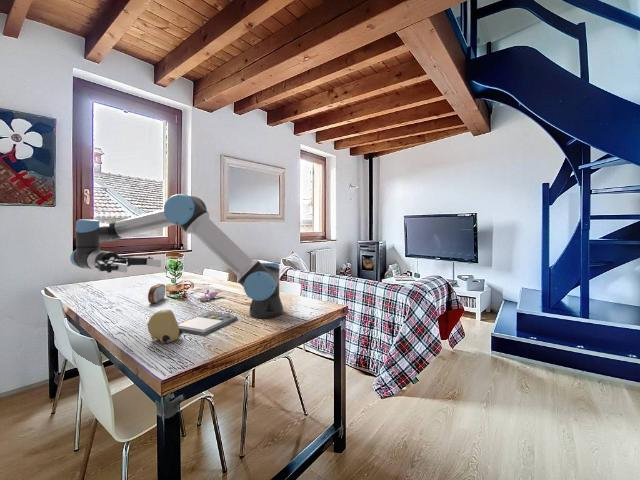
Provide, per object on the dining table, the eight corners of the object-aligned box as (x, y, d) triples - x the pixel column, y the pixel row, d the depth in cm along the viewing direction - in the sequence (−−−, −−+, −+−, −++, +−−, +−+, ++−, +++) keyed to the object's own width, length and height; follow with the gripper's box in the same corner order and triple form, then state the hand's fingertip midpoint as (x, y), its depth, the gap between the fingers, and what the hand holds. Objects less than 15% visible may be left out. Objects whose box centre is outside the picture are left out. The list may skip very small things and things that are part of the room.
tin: (160, 297, 167) (160, 282, 167) (167, 297, 167) (166, 282, 167) (147, 305, 152) (146, 288, 152) (154, 305, 152) (153, 288, 152)
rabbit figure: (204, 305, 157) (225, 294, 170) (202, 294, 156) (224, 284, 169) (195, 304, 160) (217, 293, 173) (193, 293, 159) (215, 283, 172)
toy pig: (153, 354, 106) (165, 339, 101) (138, 324, 109) (150, 308, 105) (179, 343, 115) (192, 329, 110) (164, 316, 118) (176, 301, 113)
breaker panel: (237, 319, 132) (237, 312, 132) (203, 335, 114) (203, 327, 114) (207, 314, 138) (207, 308, 138) (170, 329, 120) (170, 321, 119)
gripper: (134, 266, 132) (172, 271, 124) (68, 275, 109) (109, 282, 101) (134, 248, 132) (172, 252, 124) (68, 254, 108) (109, 259, 101)
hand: (144, 265), depth 112 cm, fingers open, 13 cm apart
